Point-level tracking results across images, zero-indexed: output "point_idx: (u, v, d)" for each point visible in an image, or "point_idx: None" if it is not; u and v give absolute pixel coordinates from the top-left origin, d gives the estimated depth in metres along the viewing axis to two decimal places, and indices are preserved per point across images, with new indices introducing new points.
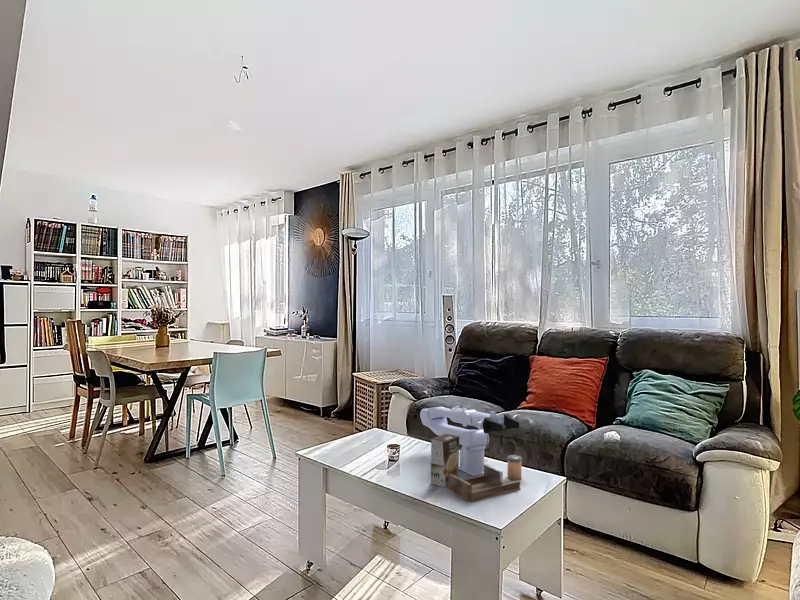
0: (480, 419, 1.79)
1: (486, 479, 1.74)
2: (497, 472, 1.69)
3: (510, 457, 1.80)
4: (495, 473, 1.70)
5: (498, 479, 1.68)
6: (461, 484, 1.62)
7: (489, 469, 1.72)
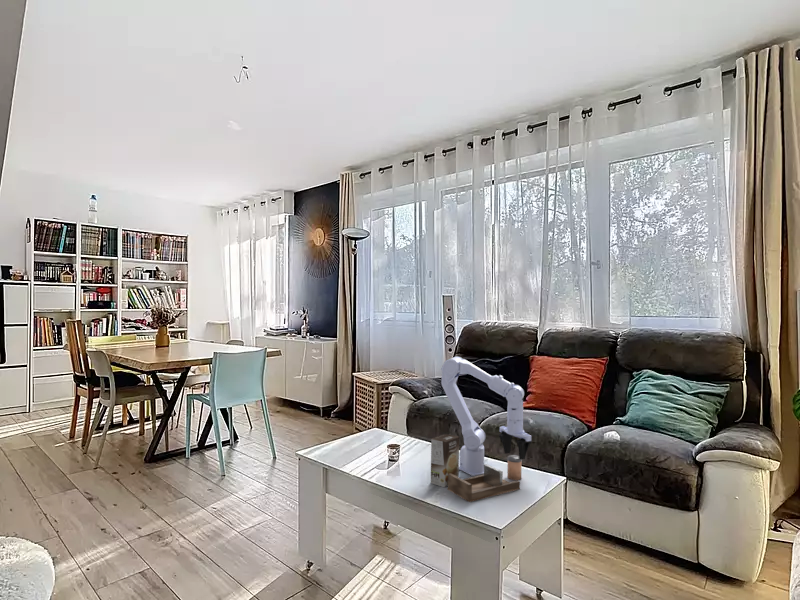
0: (522, 422, 1.79)
1: (486, 479, 1.74)
2: (497, 472, 1.69)
3: (510, 457, 1.80)
4: (495, 473, 1.70)
5: (498, 479, 1.68)
6: (461, 484, 1.62)
7: (489, 469, 1.72)
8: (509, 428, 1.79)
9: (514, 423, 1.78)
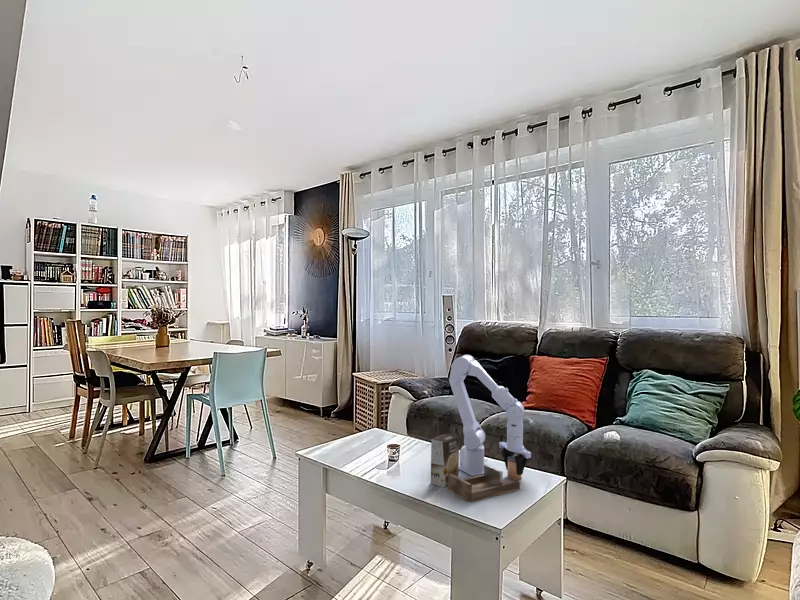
0: (522, 439, 1.79)
1: (486, 479, 1.74)
2: (497, 472, 1.69)
3: (510, 457, 1.80)
4: (495, 473, 1.70)
5: (498, 479, 1.68)
6: (461, 484, 1.62)
7: (489, 469, 1.72)
8: (509, 444, 1.79)
9: (514, 439, 1.78)
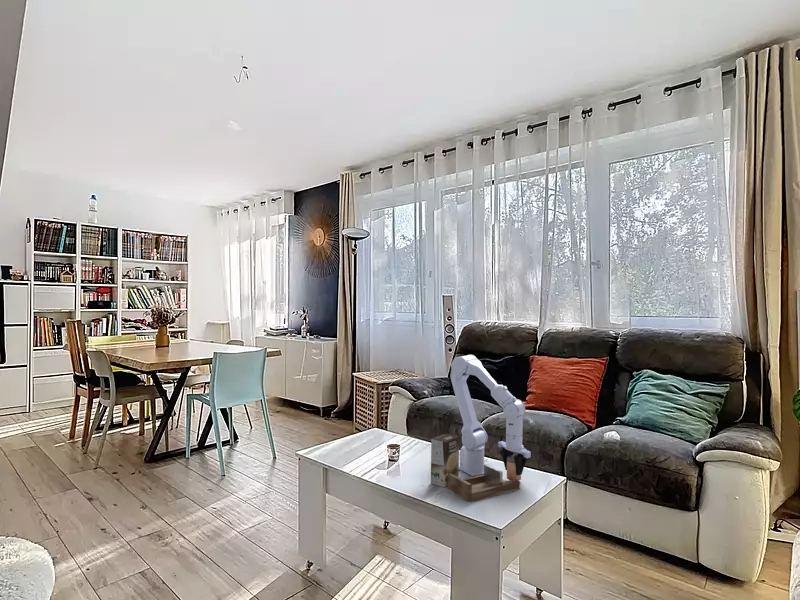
0: (521, 438, 1.75)
1: (486, 479, 1.74)
2: (497, 472, 1.69)
3: (509, 457, 1.76)
4: (495, 473, 1.70)
5: (498, 479, 1.68)
6: (461, 484, 1.62)
7: (489, 469, 1.72)
8: (508, 444, 1.75)
9: (513, 439, 1.74)
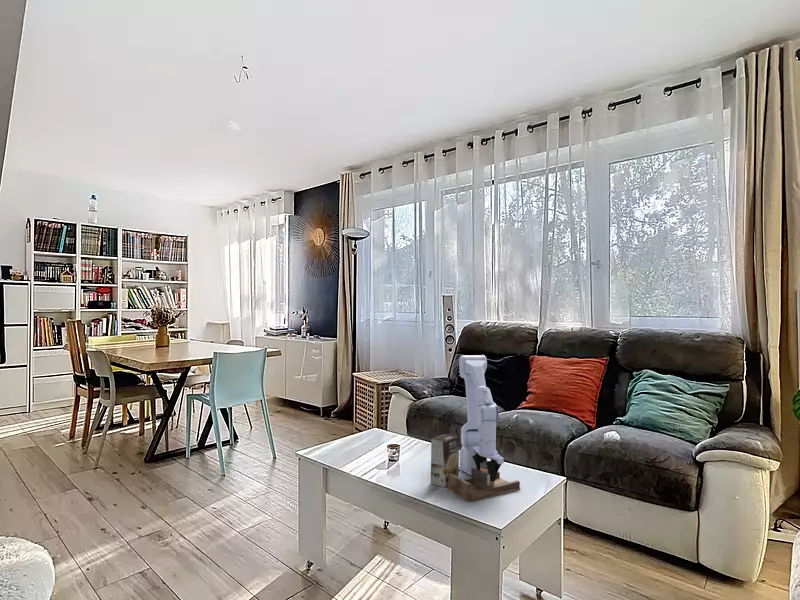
0: (494, 443, 1.68)
1: (473, 482, 1.71)
2: (484, 475, 1.66)
3: (483, 463, 1.70)
4: (482, 476, 1.67)
5: (485, 482, 1.65)
6: (461, 484, 1.62)
7: (476, 472, 1.69)
8: (481, 449, 1.68)
9: (486, 444, 1.67)
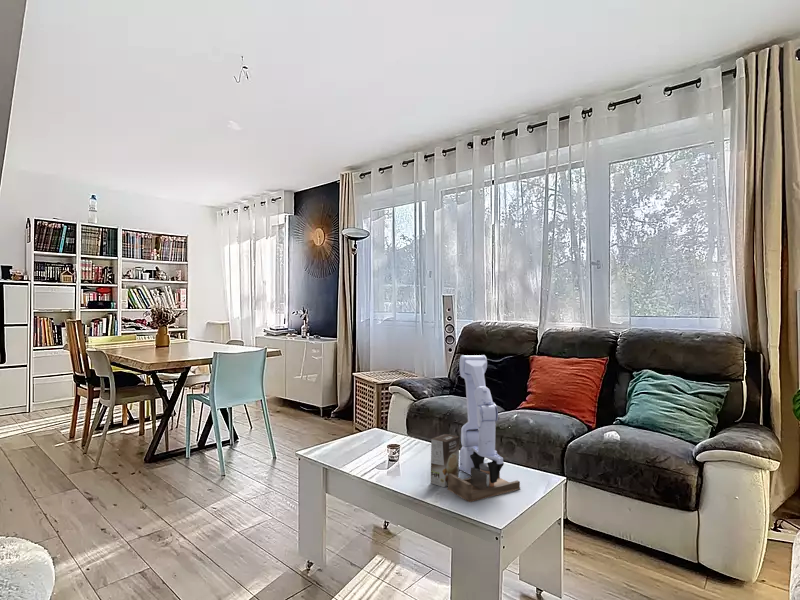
0: (494, 443, 1.68)
1: (473, 482, 1.71)
2: (484, 475, 1.66)
3: (482, 465, 1.70)
4: (481, 476, 1.67)
5: (485, 482, 1.65)
6: (461, 484, 1.62)
7: (476, 472, 1.69)
8: (480, 449, 1.68)
9: (485, 444, 1.67)
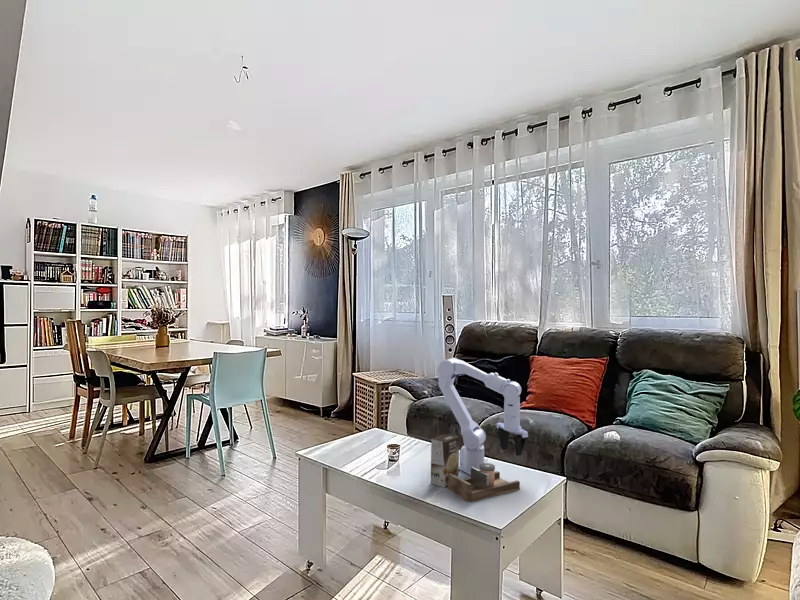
0: (518, 419, 1.78)
1: (473, 482, 1.71)
2: (484, 475, 1.66)
3: (482, 465, 1.70)
4: (481, 476, 1.67)
5: (485, 482, 1.65)
6: (461, 484, 1.62)
7: (476, 472, 1.69)
8: (506, 424, 1.79)
9: (511, 419, 1.78)
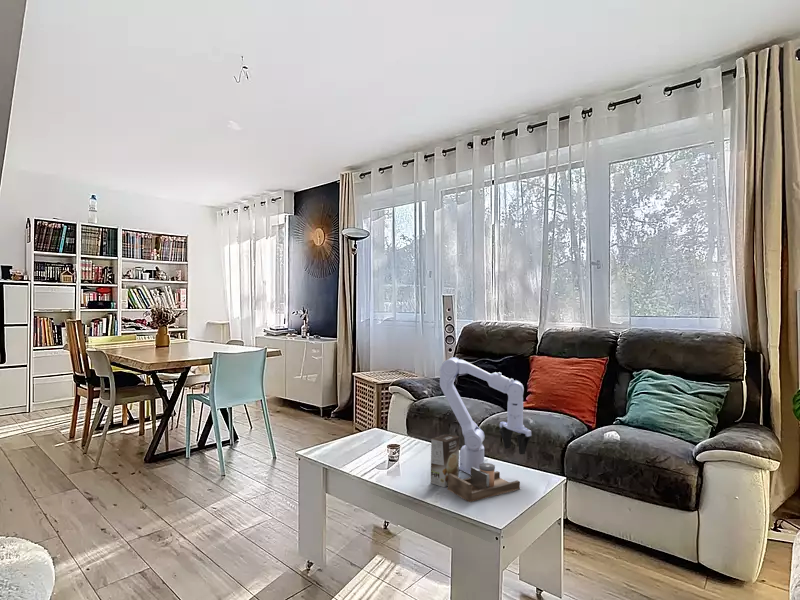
0: (522, 418, 1.80)
1: (473, 482, 1.71)
2: (484, 475, 1.66)
3: (482, 465, 1.70)
4: (481, 476, 1.67)
5: (485, 482, 1.65)
6: (461, 484, 1.62)
7: (476, 472, 1.69)
8: (509, 423, 1.80)
9: (514, 418, 1.79)
